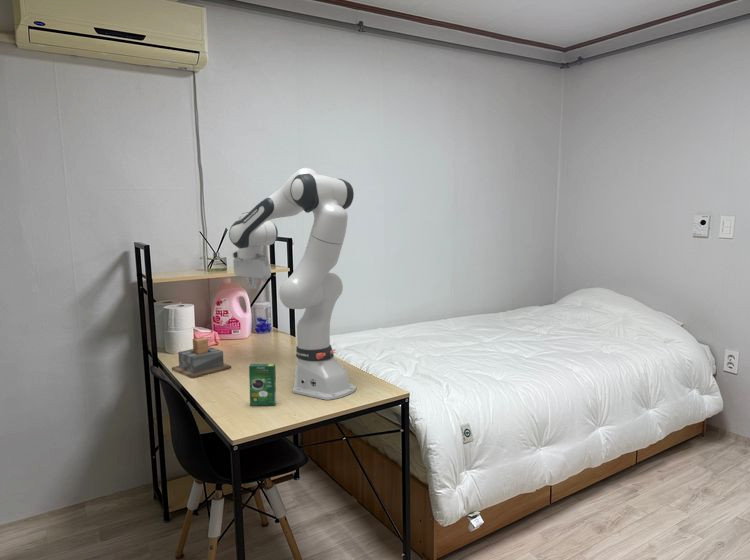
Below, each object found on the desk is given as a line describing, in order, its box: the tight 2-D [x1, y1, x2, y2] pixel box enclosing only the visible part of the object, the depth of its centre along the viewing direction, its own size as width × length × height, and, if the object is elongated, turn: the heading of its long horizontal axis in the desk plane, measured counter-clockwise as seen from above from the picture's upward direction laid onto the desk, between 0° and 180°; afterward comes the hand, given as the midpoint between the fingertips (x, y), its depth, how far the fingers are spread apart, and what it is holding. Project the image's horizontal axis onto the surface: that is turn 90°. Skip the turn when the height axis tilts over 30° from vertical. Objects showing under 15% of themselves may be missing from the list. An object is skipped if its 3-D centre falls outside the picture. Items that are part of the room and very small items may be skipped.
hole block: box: [171, 345, 232, 379], centre depth 200 cm, size 16×16×7 cm
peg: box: [192, 337, 209, 355], centre depth 200 cm, size 4×4×10 cm
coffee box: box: [248, 363, 277, 407], centre depth 162 cm, size 8×3×13 cm, turn 91°
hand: (253, 288), depth 207 cm, fingers closed
